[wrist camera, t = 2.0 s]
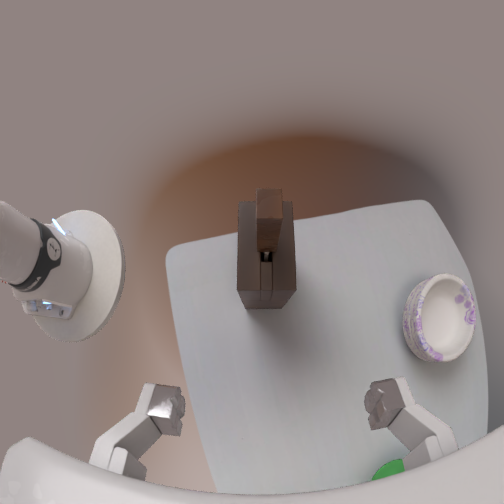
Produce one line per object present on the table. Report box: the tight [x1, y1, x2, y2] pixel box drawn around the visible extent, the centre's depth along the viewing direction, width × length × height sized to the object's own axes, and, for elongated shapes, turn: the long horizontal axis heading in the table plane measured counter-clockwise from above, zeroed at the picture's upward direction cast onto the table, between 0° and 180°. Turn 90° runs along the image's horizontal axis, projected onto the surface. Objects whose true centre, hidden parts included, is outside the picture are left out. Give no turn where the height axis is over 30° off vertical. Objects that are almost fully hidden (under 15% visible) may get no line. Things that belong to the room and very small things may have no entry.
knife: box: [256, 189, 283, 262], centre depth 28 cm, size 2×3×17 cm, turn 0°
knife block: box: [237, 201, 296, 309], centre depth 37 cm, size 6×10×18 cm, turn 0°
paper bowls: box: [403, 273, 476, 362], centre depth 39 cm, size 15×15×8 cm
